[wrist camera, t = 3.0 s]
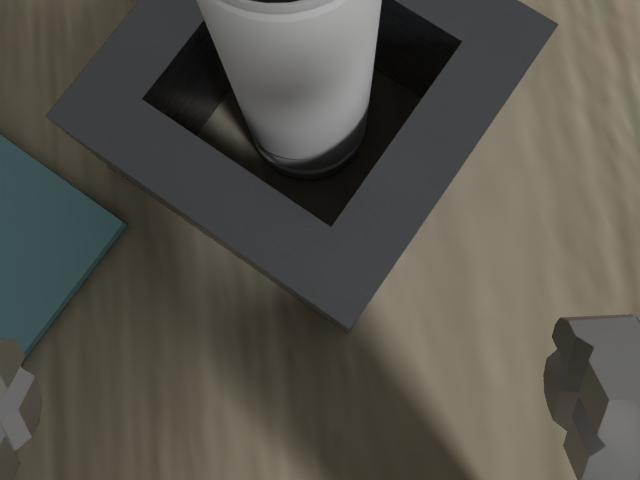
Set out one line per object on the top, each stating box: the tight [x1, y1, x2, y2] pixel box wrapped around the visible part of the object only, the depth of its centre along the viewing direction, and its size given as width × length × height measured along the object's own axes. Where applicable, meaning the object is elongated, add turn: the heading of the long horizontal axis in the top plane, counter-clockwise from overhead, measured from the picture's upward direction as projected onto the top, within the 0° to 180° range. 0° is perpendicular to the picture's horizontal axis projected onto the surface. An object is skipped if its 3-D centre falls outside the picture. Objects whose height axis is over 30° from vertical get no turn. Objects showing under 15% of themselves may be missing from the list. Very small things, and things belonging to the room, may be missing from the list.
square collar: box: [46, 0, 558, 334], centre depth 29 cm, size 16×16×7 cm
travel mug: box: [196, 0, 382, 179], centre depth 23 cm, size 6×7×20 cm
